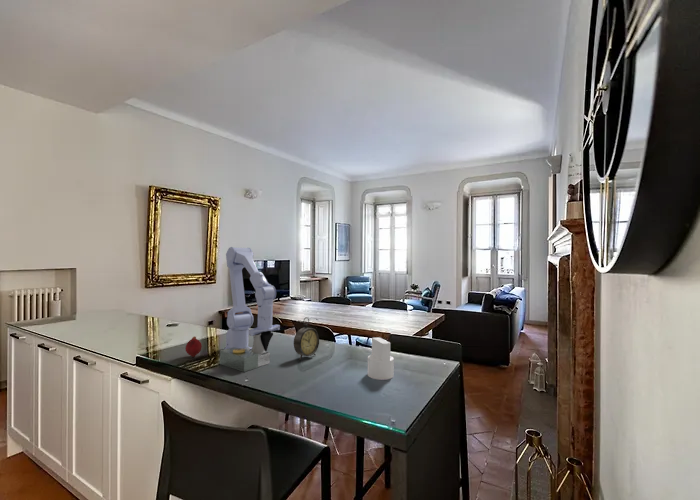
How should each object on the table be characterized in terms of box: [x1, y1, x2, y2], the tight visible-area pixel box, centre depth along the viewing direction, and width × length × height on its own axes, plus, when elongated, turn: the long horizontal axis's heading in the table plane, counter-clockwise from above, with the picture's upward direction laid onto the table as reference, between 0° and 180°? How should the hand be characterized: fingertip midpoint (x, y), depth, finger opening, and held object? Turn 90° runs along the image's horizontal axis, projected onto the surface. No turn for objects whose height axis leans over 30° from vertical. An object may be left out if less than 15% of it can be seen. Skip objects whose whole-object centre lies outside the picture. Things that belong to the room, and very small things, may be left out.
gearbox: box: [219, 346, 271, 373], centre depth 127 cm, size 14×12×6 cm
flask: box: [250, 333, 267, 354], centre depth 132 cm, size 7×7×10 cm
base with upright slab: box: [367, 336, 395, 381], centre depth 118 cm, size 9×9×12 cm
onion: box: [185, 336, 203, 358], centre depth 134 cm, size 6×6×8 cm
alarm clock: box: [293, 316, 320, 361], centre depth 137 cm, size 11×5×16 cm, turn 143°
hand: (264, 350), depth 134 cm, fingers closed
